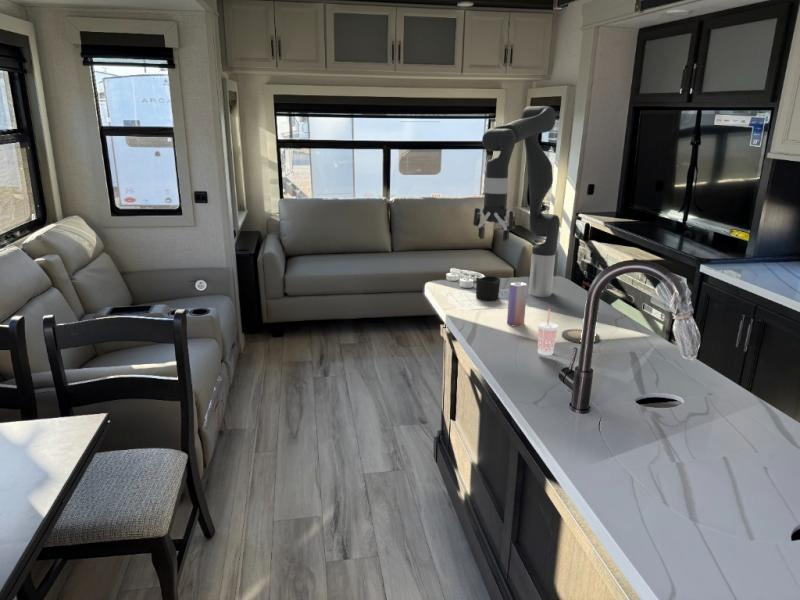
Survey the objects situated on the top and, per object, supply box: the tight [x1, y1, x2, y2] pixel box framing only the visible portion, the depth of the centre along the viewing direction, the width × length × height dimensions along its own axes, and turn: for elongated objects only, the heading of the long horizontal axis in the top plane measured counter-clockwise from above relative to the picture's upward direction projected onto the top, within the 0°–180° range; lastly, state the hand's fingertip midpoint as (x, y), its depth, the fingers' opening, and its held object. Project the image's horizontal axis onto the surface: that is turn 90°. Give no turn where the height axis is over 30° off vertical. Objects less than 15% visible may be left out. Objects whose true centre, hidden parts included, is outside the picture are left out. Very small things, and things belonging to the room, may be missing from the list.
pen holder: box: [475, 275, 501, 302], centre depth 224 cm, size 9×9×10 cm
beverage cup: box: [537, 308, 559, 356], centre depth 171 cm, size 6×6×14 cm
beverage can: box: [506, 281, 528, 327], centre depth 197 cm, size 6×6×15 cm
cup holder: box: [445, 267, 486, 289], centre depth 245 cm, size 20×11×7 cm, turn 27°
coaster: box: [561, 328, 601, 344], centre depth 187 cm, size 12×12×1 cm
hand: (493, 239), depth 190 cm, fingers open, 8 cm apart
